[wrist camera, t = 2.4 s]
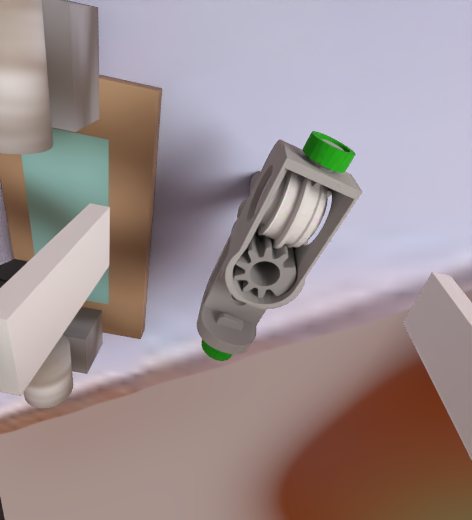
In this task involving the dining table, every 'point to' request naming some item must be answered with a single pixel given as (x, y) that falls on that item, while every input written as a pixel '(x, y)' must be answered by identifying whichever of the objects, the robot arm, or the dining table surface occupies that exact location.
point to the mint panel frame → (75, 169)
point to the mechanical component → (275, 240)
